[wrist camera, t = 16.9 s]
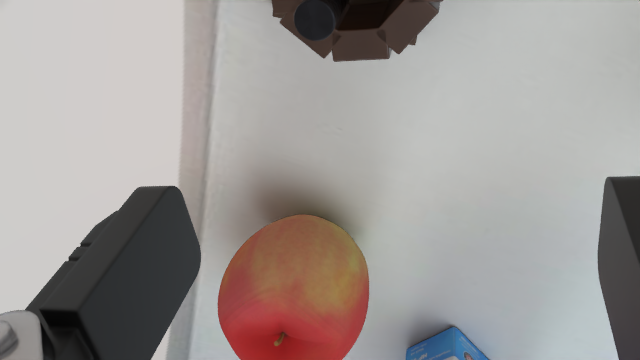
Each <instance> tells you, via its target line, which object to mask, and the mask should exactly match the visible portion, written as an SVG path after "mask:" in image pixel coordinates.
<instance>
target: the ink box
mask: <svg viewBox="0 0 640 360" xmlns="http://www.w3.org/2000/svg"><path fill="white" fill-rule="evenodd" d="M406 360H488V359H487V358H486V357H485V356H484V355H483V354H482V353H481V352H480V351H479V350H478V349H477V348H476V347H475V346H474V345H473V344H472V343H471V342H470V341H469V340H468V339H467V338H466V337H465V336H464V335H463V334H462V333H461V332H460V331H459V330H458V329H457V328H455V327H452V328H450V329H448V330H446V331H443V332H441V333H439V334H437V335H435V336H433V337H431V338H429V339H427V340H425V341H422V342H420V343H418V344H416V345H414V346H412V347H410V348H408V349H407V352H406Z"/></svg>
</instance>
